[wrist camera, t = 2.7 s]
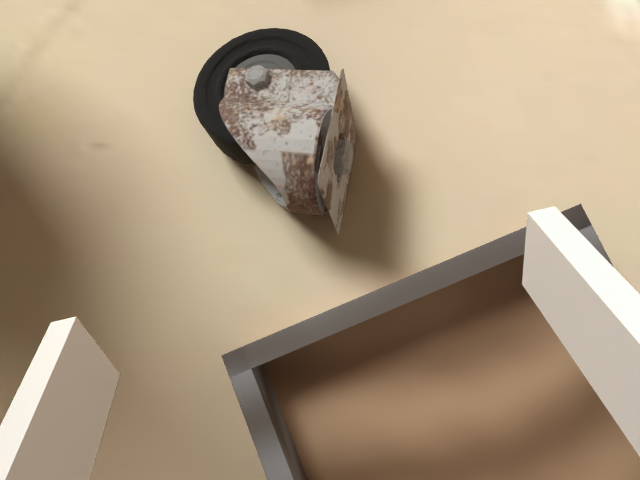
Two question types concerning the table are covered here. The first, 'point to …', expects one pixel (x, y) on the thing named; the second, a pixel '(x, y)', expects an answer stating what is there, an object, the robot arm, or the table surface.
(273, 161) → the caster wheel
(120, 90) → the table surface
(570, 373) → the square tray
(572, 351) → the robot arm
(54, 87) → the table surface
